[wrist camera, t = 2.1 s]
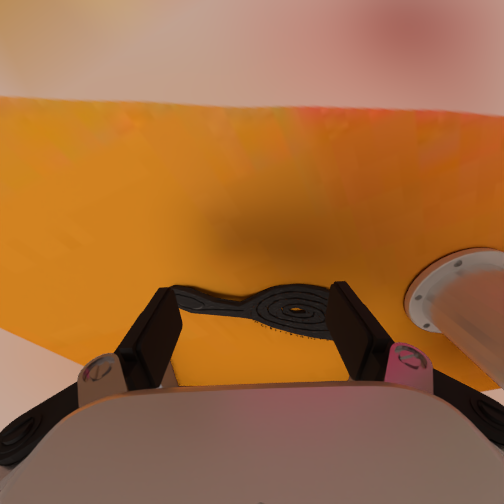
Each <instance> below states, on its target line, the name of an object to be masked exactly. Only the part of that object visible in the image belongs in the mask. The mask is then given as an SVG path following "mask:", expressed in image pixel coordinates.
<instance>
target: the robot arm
mask: <svg viewBox="0 0 504 504" xmlns="http://www.w3.org/2000/svg"><path fill="white" fill-rule="evenodd" d="M404 305H405V311H406V314H407V316H408V317H409V318H410V320H411V321H412V322H413V323H414V324H415V325H416V326H418V327H419V328H421V329H423V330H426V331H429V332H436V333H443V334H444V335H445V336H446V337H447V338H448V339H449V340H450V341H452V342H453V343H454V344H455V345H456V346H457V347H458V348H459V349H460V350H461V351H462V352H463V353H465V354H466V355H467V356H468V357H469V358H470V359H471V360H472V361H473V362H474V363H475V364H476V365H477V366H479V367H480V368H481V369H482V370H483V371H484V372H485V373H486V374H487V375H488V376H489V377H490V378H492V379H493V380H494V381H495V382H496V383H497V384H498V385H499V386H500V387H501V388H502V389H504V252H502V251H499V250H497V249H491V248H473V249H467V250H463V251H459V252H456V253H453V254H451V255H448V256H446V257H444V258H442V259H440V260H438V261H437V262H435V263H433V264H432V265H430V266H429V267H428V268H427V269H425V270H424V271H423V272H422V273H421V274H420V275H419V276H418V277H417V278H416V279H415V280H414V282H413V283H412V284H411V286H410V287H409V290H408V292H407V294H406V297H405V302H404ZM325 323H326V326H327V328H328V330H329V332H330V334H331V336H332V338H333V341H334V343H335V345H336V347H337V349H338V351H339V353H340V356H341V358H342V360H343V362H344V364H345V366H346V368H347V371H348V373H349V375H350V377H351V379H352V380H355V381H325V382H294V383H266V384H239V385H215V386H192V387H172V388H158V387H159V386H160V385H161V382H162V380H163V377H164V374H165V372H166V369H167V367H168V364H169V361H170V359H171V356H172V353H173V351H174V348H175V346H176V343H177V340H178V338H179V335H180V333H181V330H182V325H183V324H182V319H181V315H180V311H179V308H178V304H177V300H176V296H175V292H174V290H171V288H170V287H164V288H159V289H158V290H157V292H156V293H155V295H154V296H153V298H152V299H151V300H150V302H149V303H148V305H147V306H146V308H145V309H144V311H143V312H142V313H141V314H140V315H139V317H138V318H137V320H136V321H135V323H134V324H133V326H132V327H131V328H130V330H129V331H128V333H127V334H126V336H125V337H124V339H123V340H122V342H121V343H120V345H119V346H118V348H117V349H116V350H115V352H114V353H107V354H103V355H100V356H98V357H96V358H95V359H93V360H91V361H90V362H89V363H88V364H86V365H85V366H84V368H83V369H82V370H81V372H80V373H79V375H78V380H77V382H76V383H74V384H72V385H70V386H69V387H67V388H66V389H64V390H62V391H61V392H59V393H57V394H56V395H54V396H52V397H51V398H49V399H47V400H46V401H44V402H43V403H41V404H39V405H37V406H36V407H34V408H32V409H31V410H29V411H27V412H26V413H24V414H23V415H21V416H19V417H18V418H16V419H15V420H14V421H12V422H11V423H10V424H9V425H8V426H6V427H5V428H4V429H3V430H2V431H1V432H0V504H504V406H503V405H501V404H500V403H499V402H497V401H495V400H494V399H492V398H490V397H488V396H486V395H484V394H482V393H480V392H479V391H477V390H475V389H473V388H471V387H469V386H467V385H465V384H463V383H461V382H459V381H457V380H455V379H453V378H451V377H449V376H447V375H445V374H443V373H441V372H439V371H437V370H435V369H434V368H433V366H432V363H431V361H430V359H429V358H428V357H427V356H426V355H425V354H424V353H423V352H422V351H420V350H419V349H418V348H416V347H414V346H412V345H409V344H406V343H400V342H399V343H395V342H394V341H393V340H392V338H391V337H390V336H389V335H388V333H387V332H386V331H385V330H384V328H383V327H382V326H381V325H380V323H379V322H378V321H377V320H376V318H375V317H374V316H373V314H372V313H371V312H370V311H369V309H368V308H367V307H366V306H365V305H364V304H363V303H362V302H361V300H360V299H359V298H358V297H357V295H356V294H355V293H354V291H353V290H352V289H351V288H350V286H349V285H348V284H347V283H346V282H345V281H337V282H334V284H331V287H330V292H329V298H328V303H327V308H326V313H325Z"/></svg>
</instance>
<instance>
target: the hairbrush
mask: <svg viewBox="0 0 504 504" xmlns="http://www.w3.org/2000/svg"><path fill="white" fill-rule="evenodd" d="M173 286H176V287H173ZM173 286H171V287H170V288H171V290H174V292H175V296H176V300H177V304H178V308H180V309H183V310H185V311H188V312H190V313H198V314H209V315H220V316H231V317H241V318H248V319H253V320H256V321H258V322H261V323H262V324H266V325H268V326H270V329H272V328H271V327H273V328H276V329H280V332H281V330H284V331H287V332H291V333H294V334H299V335H304V336H308V339H309V337H313V338H314V340H315V338H320V339H327V341H328V340H333V338H332V336H331V334H330V332H329V330H328V328H327V326H326V323H325V315H324V314H325V313H326V308H327V303H328V298H329V292H330V291H329V290H328V289H326V288H323V287H318V286H313V285H307V284H305V285H304V284H289V285H279V286H274V287H270V288H272V289H270V288H268V289H269V290H267V289H266V290H264V291H262V292H260V293H258V294H256V295H254V296H252V297H249V298H247V299H245V300H243V301H241V302H237V301H232V300H226V299H221V298H215V297H212V296H210V295H207V294H205V293H202V292H200V291H197V290H195V289H192V288H188V287H183V286H178V285H173ZM257 305H258V306H257ZM267 307H268V309H267ZM281 308H282V309H283V310H282V309H281ZM292 308H299V309H303V310H301V311H297V310H298V309H297V310H296V311H295V310H294V311H293V310H289V309H292ZM268 310H269V311H268ZM304 310H305V311H304ZM256 321H255V322H256ZM258 322H257V323H258ZM262 324H261V326H262ZM262 327H263V326H262ZM265 327H266V326H265ZM276 329H275V331H276ZM291 333H290V335H292V334H291ZM300 337H301V336H300ZM302 337H303V336H302ZM311 339H312V338H311Z"/></svg>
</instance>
